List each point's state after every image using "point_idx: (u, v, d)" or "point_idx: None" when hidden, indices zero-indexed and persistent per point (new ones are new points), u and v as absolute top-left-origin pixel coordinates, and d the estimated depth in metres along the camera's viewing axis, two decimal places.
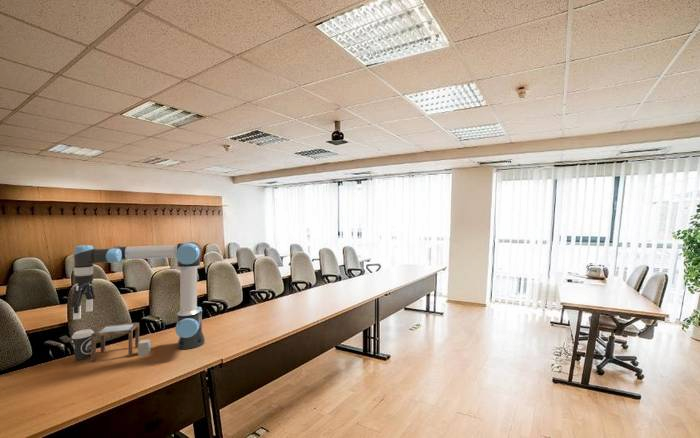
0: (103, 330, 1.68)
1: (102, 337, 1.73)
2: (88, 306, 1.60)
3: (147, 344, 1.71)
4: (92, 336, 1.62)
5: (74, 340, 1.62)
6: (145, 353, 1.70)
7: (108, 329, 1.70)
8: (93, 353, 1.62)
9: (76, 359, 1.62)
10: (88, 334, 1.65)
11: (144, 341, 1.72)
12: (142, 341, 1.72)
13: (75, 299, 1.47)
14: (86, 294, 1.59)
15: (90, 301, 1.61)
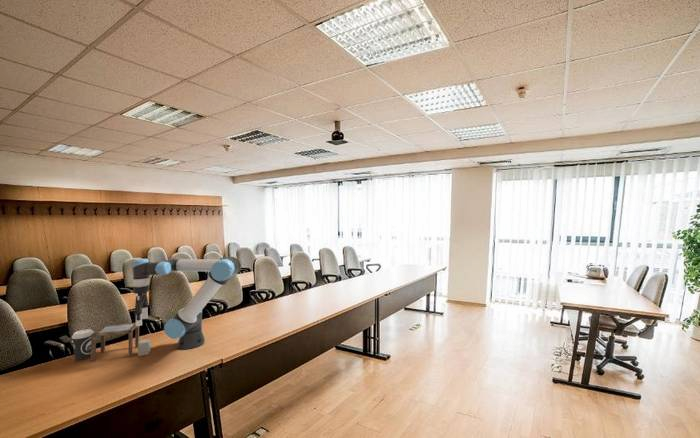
0: (103, 330, 1.68)
1: (102, 337, 1.73)
2: (143, 314, 1.77)
3: (147, 344, 1.71)
4: (92, 336, 1.62)
5: (74, 340, 1.62)
6: (145, 353, 1.70)
7: (108, 329, 1.70)
8: (93, 353, 1.62)
9: (76, 359, 1.62)
10: (88, 334, 1.65)
11: (144, 341, 1.72)
12: (142, 341, 1.72)
13: (137, 308, 1.63)
14: (142, 303, 1.75)
15: (145, 309, 1.77)
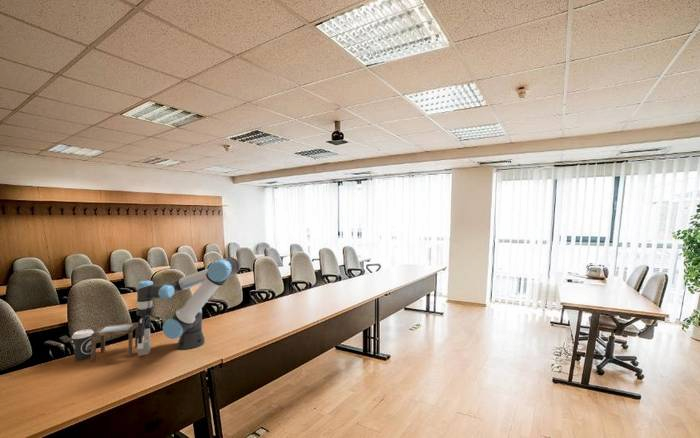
0: (103, 330, 1.68)
1: (102, 337, 1.73)
2: (146, 335, 1.78)
3: (147, 344, 1.71)
4: (92, 336, 1.62)
5: (74, 340, 1.62)
6: (145, 353, 1.70)
7: (108, 329, 1.70)
8: (93, 353, 1.62)
9: (76, 359, 1.62)
10: (88, 334, 1.65)
11: (144, 341, 1.72)
12: None
13: (140, 331, 1.64)
14: None
15: (148, 330, 1.79)
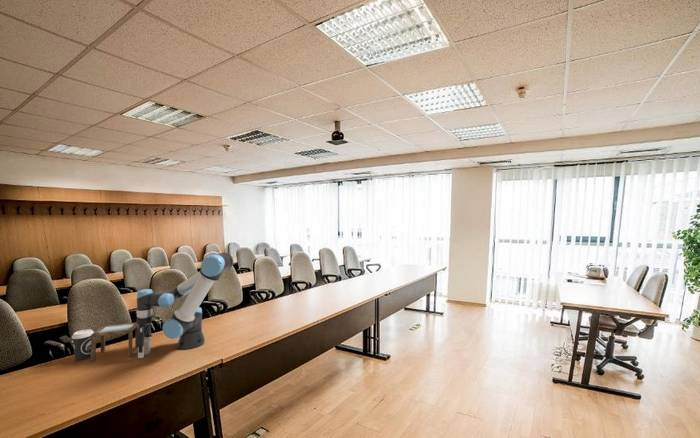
0: (103, 330, 1.68)
1: (102, 337, 1.73)
2: None
3: (147, 344, 1.71)
4: (92, 336, 1.62)
5: (74, 340, 1.62)
6: (145, 353, 1.70)
7: (108, 329, 1.70)
8: (93, 353, 1.62)
9: (76, 359, 1.62)
10: (88, 334, 1.65)
11: (144, 341, 1.72)
12: None
13: (140, 340, 1.64)
14: None
15: None
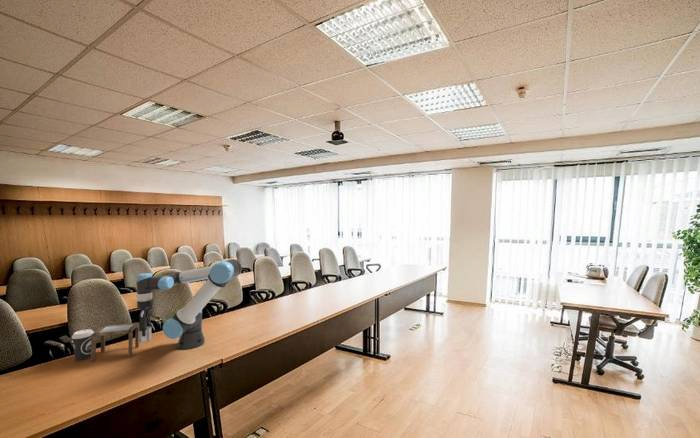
0: (103, 330, 1.68)
1: (102, 337, 1.73)
2: None
3: (148, 331, 1.71)
4: (92, 336, 1.62)
5: (74, 340, 1.62)
6: None
7: (108, 329, 1.70)
8: (93, 353, 1.62)
9: (76, 359, 1.62)
10: (88, 334, 1.65)
11: None
12: None
13: (142, 325, 1.67)
14: None
15: None
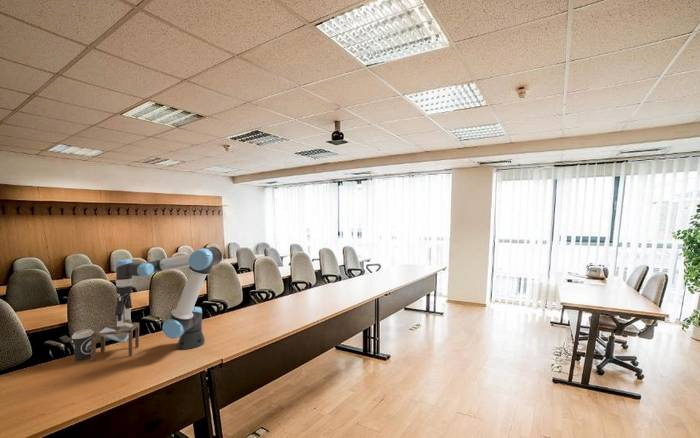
0: (103, 331, 1.68)
1: (102, 337, 1.73)
2: (126, 315, 1.78)
3: (129, 329, 1.72)
4: (92, 336, 1.62)
5: (74, 340, 1.62)
6: (122, 337, 1.70)
7: None
8: (93, 353, 1.62)
9: (76, 359, 1.62)
10: (88, 334, 1.65)
11: (128, 324, 1.73)
12: (126, 324, 1.73)
13: (119, 308, 1.65)
14: (125, 303, 1.77)
15: (128, 310, 1.79)
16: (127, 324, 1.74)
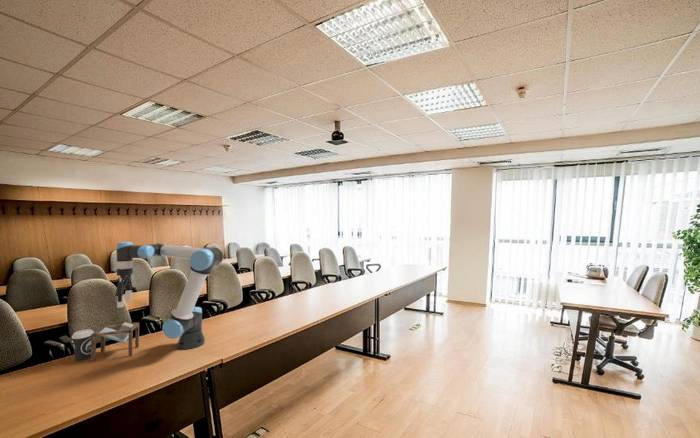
0: (103, 331, 1.68)
1: (102, 337, 1.73)
2: (127, 297, 1.79)
3: (129, 329, 1.72)
4: (92, 336, 1.62)
5: (74, 340, 1.62)
6: (122, 337, 1.70)
7: None
8: (93, 353, 1.62)
9: (76, 359, 1.62)
10: (88, 334, 1.65)
11: (128, 324, 1.73)
12: (126, 324, 1.73)
13: (119, 289, 1.65)
14: (126, 285, 1.77)
15: (129, 292, 1.79)
16: (127, 324, 1.74)
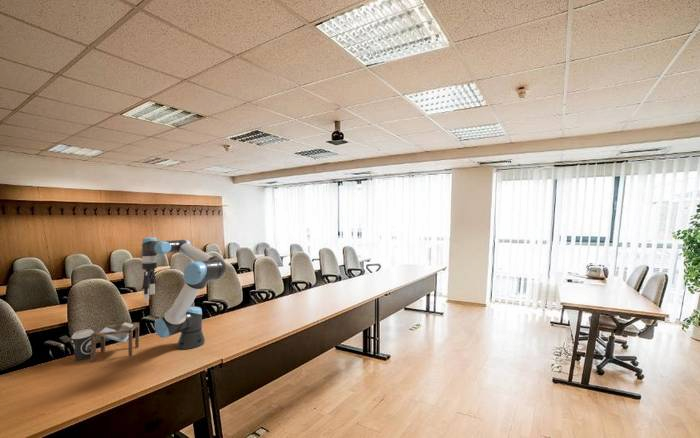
0: (103, 331, 1.68)
1: (102, 337, 1.73)
2: (151, 290, 1.88)
3: (129, 329, 1.72)
4: (92, 336, 1.62)
5: (74, 340, 1.62)
6: (122, 337, 1.70)
7: None
8: (93, 353, 1.62)
9: (76, 359, 1.62)
10: (88, 334, 1.65)
11: (128, 324, 1.73)
12: (126, 324, 1.73)
13: (145, 282, 1.74)
14: (150, 279, 1.86)
15: (153, 285, 1.88)
16: (127, 324, 1.74)
